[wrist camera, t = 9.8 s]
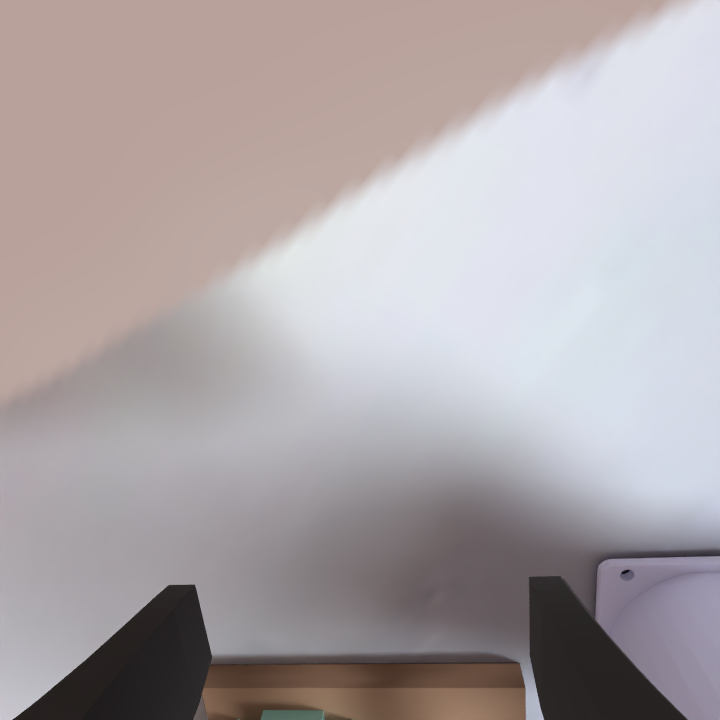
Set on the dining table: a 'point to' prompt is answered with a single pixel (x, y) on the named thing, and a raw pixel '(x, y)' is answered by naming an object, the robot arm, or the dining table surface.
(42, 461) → the dining table surface
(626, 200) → the dining table surface
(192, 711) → the robot arm
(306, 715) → the teal gear
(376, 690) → the gear board
